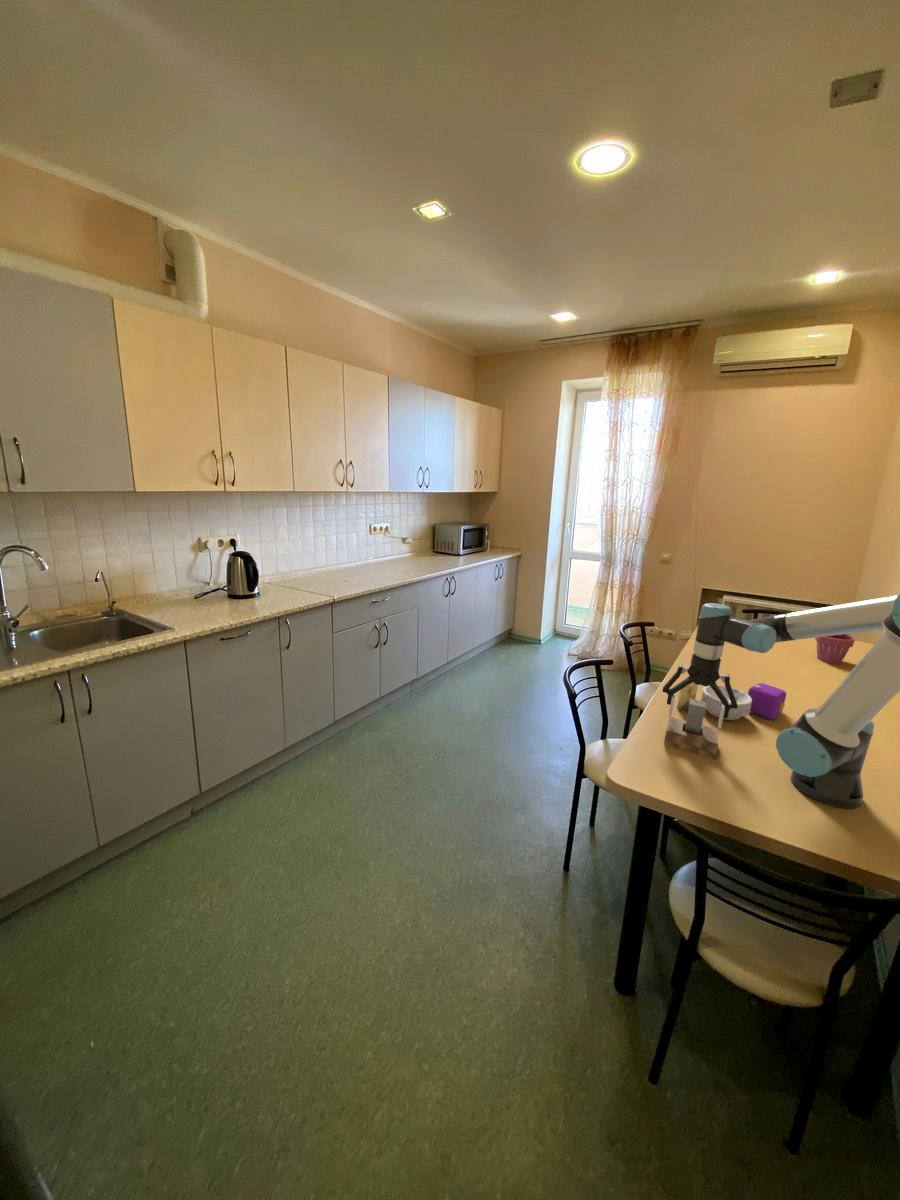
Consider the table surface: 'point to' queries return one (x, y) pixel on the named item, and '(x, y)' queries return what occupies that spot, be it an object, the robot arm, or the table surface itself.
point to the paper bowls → (715, 704)
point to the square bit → (695, 716)
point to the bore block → (691, 738)
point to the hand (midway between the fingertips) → (694, 720)
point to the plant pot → (833, 647)
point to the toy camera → (766, 700)
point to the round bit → (686, 697)
